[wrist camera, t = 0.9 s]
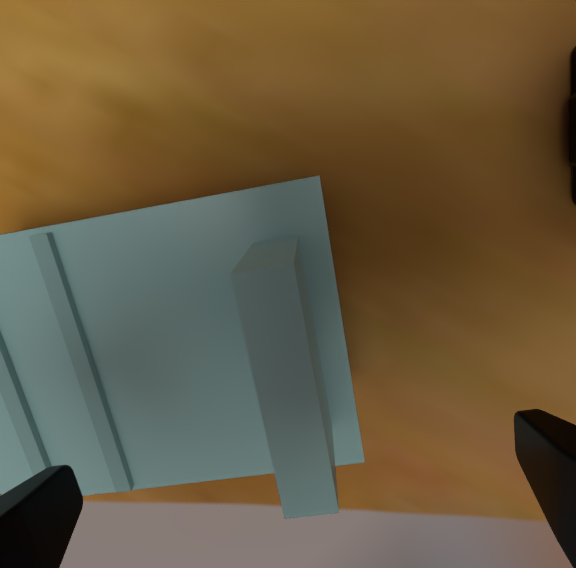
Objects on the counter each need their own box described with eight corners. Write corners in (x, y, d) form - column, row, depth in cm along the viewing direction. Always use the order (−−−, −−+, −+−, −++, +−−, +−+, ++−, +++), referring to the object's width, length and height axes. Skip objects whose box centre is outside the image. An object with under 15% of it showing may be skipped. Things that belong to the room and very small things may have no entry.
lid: (318, 174, 14) (323, 180, 9) (360, 437, 17) (382, 559, 12) (-64, 245, 16) (-251, 286, 11) (29, 478, 19) (-83, 603, 13)
